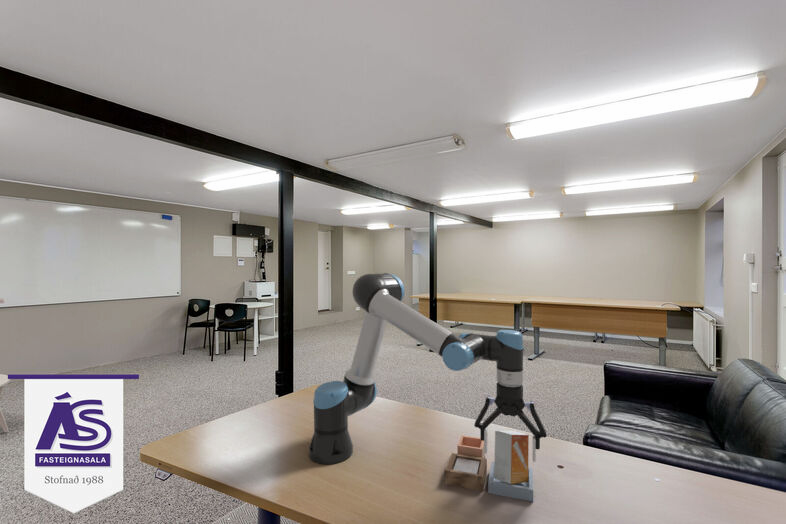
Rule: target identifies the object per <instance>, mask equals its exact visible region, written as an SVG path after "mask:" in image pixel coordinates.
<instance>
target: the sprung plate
mask: <svg viewBox="0 0 786 524" xmlns="http://www.w3.org/2000/svg"><path fill="white" fill-rule="evenodd" d="M479 467H480V462H479V461H473V460H467V459H461V458H457V461H456V463H455V466H454V469H453V470H457V471H462V472H468V473H474V474H478V471H479Z"/></svg>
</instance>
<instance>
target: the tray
mask: <svg viewBox="0 0 786 524" xmlns="http://www.w3.org/2000/svg"><path fill="white" fill-rule="evenodd" d="M490 465H491V466H490V469H489V475H488V482H487V485H488V486H487V487H488V491H487V493H488V494H492V495H497V496H501V497H502V496H503V497H506V498H513V499H518V500H523V501H529V502H534V477H533V476H534V474H533V467H529V466H528V483H515V484H509V483H506V482H503V481H501V480H498V479H495V478H494V461H491V464H490Z"/></svg>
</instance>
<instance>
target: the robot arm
mask: <svg viewBox="0 0 786 524" xmlns="http://www.w3.org/2000/svg"><path fill="white" fill-rule="evenodd" d="M352 297H353V300H354V302H355V303H356V305H358V307H359V308H361V309H362V310H364V311H365V314H364V317H363V321H362V323H361V324H362V325H361V329H360V332H359V336H358V340H357V343H356V346H355V352H354V355H353V358H352V363H351V367H350V368H349V369H347V370H346V371H345V374H344V377H343V381H342V380H332V381H330V382H329V381H327V382H323V383H322V384H320V385H319V386H317V387H316V389H315V390H314V395H313V435H312V438H311V441H310V445H309V448H308V457H309V459H310V460H311V461H312V462H315V463H317V464H322V465H323V464H324V465H330V464H332V465H333V464H338V463H340V462H341V463H342V462H344V461H346V460H348V459H350V458H351V456H352V455H353V452H354V451H353V450H354V448H353V447H354V446H353V445H354V444H353V442H352V439H351V435H350V432H349V425H348V424H349V423H348V421H349V417H350V416H352V415H353V414H357V413H358V412H360V411H363V410H364V409H366V408H368V407H369V406H370V405H371V404H372V403H373V402H375V399H376V397H377V393H378V388H377V386H376V377H375V375H373V374H374V371H375V368H376V363H377V361H378V360H377V359H378V356H379V352H380V348H381V344H382V341H383V338H384V333H385V331H386V327H387V324H388V323H389V324H391V325H392V326H394V328H397V329H398V330H400V331H401V332H403V333H404V334H406V335H408V336H409V337H411V338H412V339H414V340H415V341H417V342H418V343H420V344H421V345H423V346H425V347H426V348H427V349H429V350H431V351H432V352H433V353H435V354H437V356H440V357H441V358H442V361H443V363H444V364H445V366H446V367H447V368H448V369H449V370H452V371H455V372H459V371H463V370H466V369H469V367H471V365H473V364H475V363H477V362H478V361H480V360H483V361H489V362H496V363H495V364H496V395H495V398H494V397H491V396H490V395H486V397H485V402H484V405H483V406H482V409H481V410H480V413H479V414H478V416H477V418H476V420H475V421H474V424H473V425H474V427H475V428H477V429H479V430H480V434H479V436H480V437H479V438H480V439H481V440H482V441H484V453H485V455H486V454H487V453H488V449H489V447H488V442H489V441H488V435H489V434H488V433H489V431H488V430H489V428H488V427H489V425H490V424H492V422H494V420H496V418H497V417H499V416H500V415H501V414H502V415H503V416H511V417H516V416H517V417H518V418H519V420H521V421H522V422H523V423H524V425H525V426H526V427H527V428H528V430H529V431H530V433H531V434H532V462H534V463H536V460H537V459H536V454H537V453H536V450H540V446H541V438H547V436H548V435H547V430H546V429H545V427H544V425H543V423H542V421H541V419H540V416H539V415H538V413H537V411H536V408H535V407H536V406H535V402H534V401H533V400H529V401H524V386H523V383H524V339H523V334H522V332H520V331H518V330H514V329H499V330H498V331H496V335H489V334H488V335H487V334H478V333H474V332H469V333H467V332H463V333H460V334H459V335H456V334H454V333H453V332H452V331H450V330H448V329H446V328H445V327H443V326H441V325H440V324H439V323H437V322H435V321H433V320H431V319H430V318H428V317H427V316H425V315H424V314H423V313H420V312H419V311H417V310H415V309H413V308H412V307H411V306H409V305H407V304H406V303H403V302H402V300H403V299H404V297H405V285H404V283H403V281H402V280H401V279H400V277H398V276H397V275H395V274H393V273H388V272H387V273H386V272H385V273H366V274H365V273H364V274H363V275H361V276H359V277H357V279H356V281H354V284H353V286H352ZM493 404H495V406H496V408H495V410H494V411H493V412H492V413H490V415H488V417H487V418H486V419H484V421H483V422H482V420H483V418H484V416H485V415H486V413H487V411H488V410H489V407H490V406H492V405H493ZM525 407H526V409H527V411H529V412H530V414H531V416H532V418H533V419H534V422H535V424H536V426H537V428H538V429H537V428H536V426H535V425H534V424H533V423H532V422H531V420H530V419H529V417H528V416H527V415H526V414H525V412H524V411H523V409H524V408H525Z"/></svg>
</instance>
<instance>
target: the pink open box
mask: <svg viewBox="0 0 786 524" xmlns="http://www.w3.org/2000/svg"><path fill="white" fill-rule="evenodd" d="M459 438H460V439H458V443H457V445H456V446H457V448H456V449H457V454H461V455H467V456H473V457H479V458H486V453H484V441H482V440H481V439H480V437H478V436H477V437H476V436H469V435H468V436H467V435H463V434H462V435H460V437H459Z"/></svg>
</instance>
